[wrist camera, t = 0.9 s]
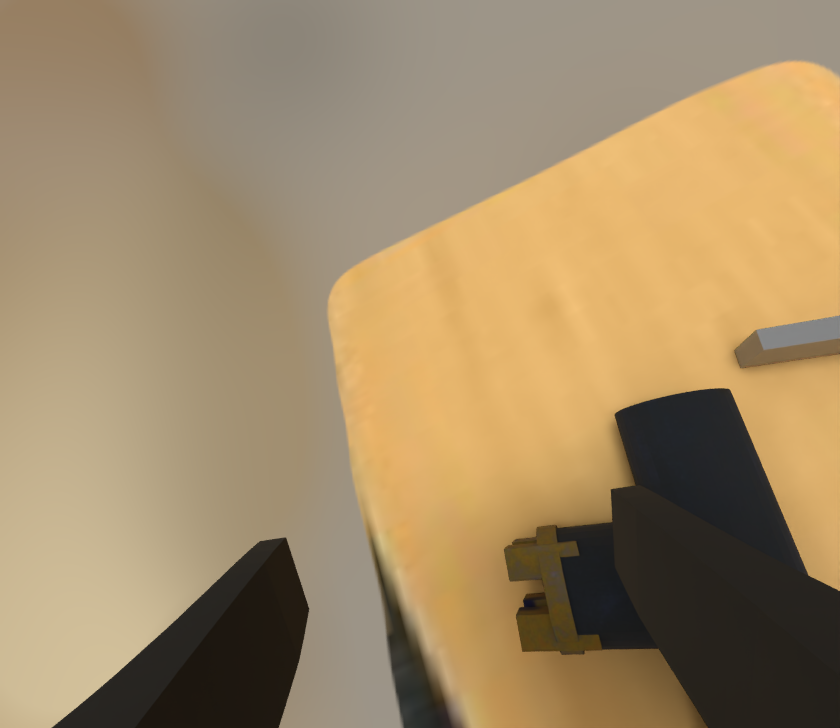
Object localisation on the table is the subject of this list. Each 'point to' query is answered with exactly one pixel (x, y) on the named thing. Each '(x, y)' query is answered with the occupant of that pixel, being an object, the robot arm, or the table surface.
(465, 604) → the table surface
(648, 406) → the pipe connector
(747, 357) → the bracket
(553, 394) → the table surface
